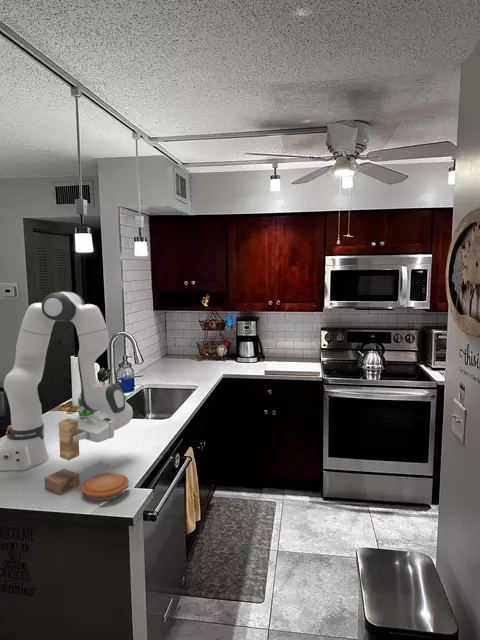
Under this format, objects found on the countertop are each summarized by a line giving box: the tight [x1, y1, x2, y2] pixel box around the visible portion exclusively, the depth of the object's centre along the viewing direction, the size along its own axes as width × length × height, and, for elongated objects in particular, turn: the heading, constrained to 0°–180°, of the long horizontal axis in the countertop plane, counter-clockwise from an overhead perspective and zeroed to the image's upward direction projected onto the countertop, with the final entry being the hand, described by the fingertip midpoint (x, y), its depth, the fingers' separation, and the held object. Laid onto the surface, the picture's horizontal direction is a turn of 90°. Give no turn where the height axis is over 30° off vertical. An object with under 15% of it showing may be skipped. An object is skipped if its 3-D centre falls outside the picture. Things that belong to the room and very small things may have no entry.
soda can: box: [77, 393, 95, 420], centre depth 229 cm, size 8×8×12 cm
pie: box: [81, 472, 130, 503], centre depth 153 cm, size 15×16×5 cm
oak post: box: [58, 418, 80, 461], centre depth 157 cm, size 4×4×13 cm
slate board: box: [61, 461, 116, 495], centre depth 163 cm, size 24×8×1 cm, turn 149°
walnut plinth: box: [43, 468, 81, 495], centre depth 156 cm, size 8×8×4 cm
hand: (66, 437), depth 156 cm, fingers closed on oak post, 4 cm apart
